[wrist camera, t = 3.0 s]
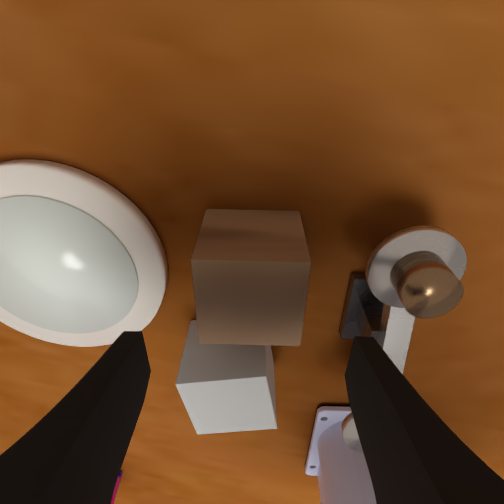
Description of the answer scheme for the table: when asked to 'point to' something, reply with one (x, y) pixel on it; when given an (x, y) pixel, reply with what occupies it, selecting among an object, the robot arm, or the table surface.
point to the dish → (74, 256)
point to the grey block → (227, 385)
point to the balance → (401, 294)
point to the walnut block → (250, 277)
